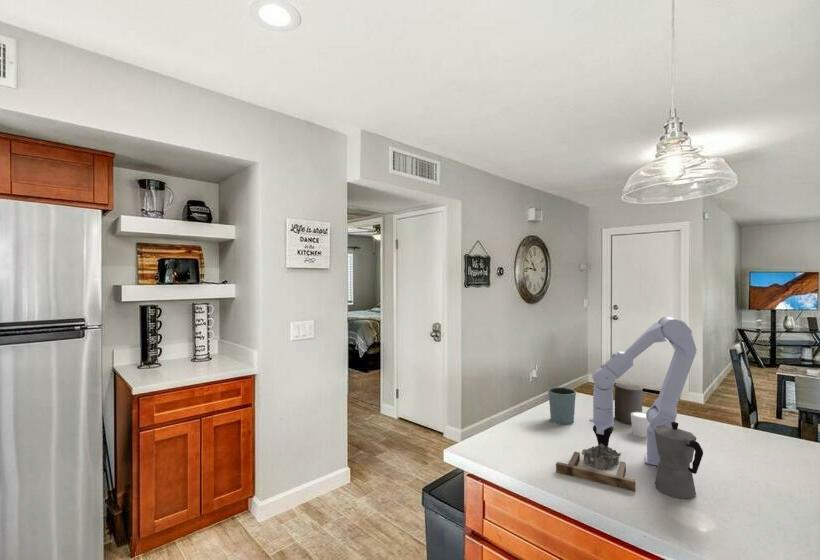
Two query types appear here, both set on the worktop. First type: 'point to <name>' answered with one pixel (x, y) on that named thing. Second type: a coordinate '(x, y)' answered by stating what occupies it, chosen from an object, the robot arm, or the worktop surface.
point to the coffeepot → (676, 461)
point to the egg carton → (600, 456)
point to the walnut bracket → (596, 473)
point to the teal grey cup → (562, 405)
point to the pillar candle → (627, 401)
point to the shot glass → (639, 424)
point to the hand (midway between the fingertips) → (603, 449)
